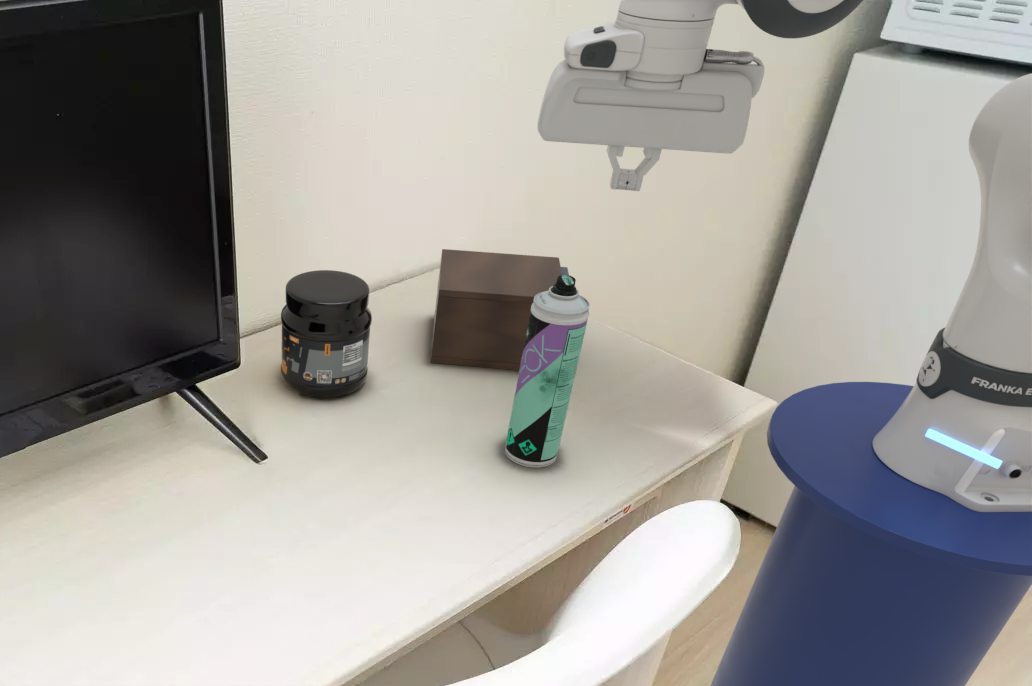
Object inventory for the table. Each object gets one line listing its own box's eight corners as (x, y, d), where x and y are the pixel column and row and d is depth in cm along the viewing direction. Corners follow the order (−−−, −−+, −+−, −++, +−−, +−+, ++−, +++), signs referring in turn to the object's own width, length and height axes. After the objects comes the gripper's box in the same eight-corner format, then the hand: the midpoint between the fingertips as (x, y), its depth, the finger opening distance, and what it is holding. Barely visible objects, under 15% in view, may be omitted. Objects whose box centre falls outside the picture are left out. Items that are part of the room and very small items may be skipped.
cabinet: (545, 327, 124) (559, 257, 119) (551, 373, 114) (566, 299, 108) (434, 318, 126) (442, 248, 120) (430, 362, 116) (439, 289, 110)
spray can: (526, 434, 103) (560, 262, 91) (566, 455, 100) (608, 280, 88) (494, 451, 100) (525, 276, 88) (534, 474, 97) (572, 295, 85)
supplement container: (293, 353, 118) (295, 262, 110) (375, 365, 115) (382, 273, 108) (269, 393, 110) (269, 298, 102) (356, 407, 107) (363, 311, 100)
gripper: (762, 46, 92) (721, 186, 100) (551, 34, 94) (527, 172, 103) (778, 59, 87) (732, 206, 95) (554, 47, 89) (529, 190, 98)
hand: (624, 188), depth 99 cm, fingers closed
